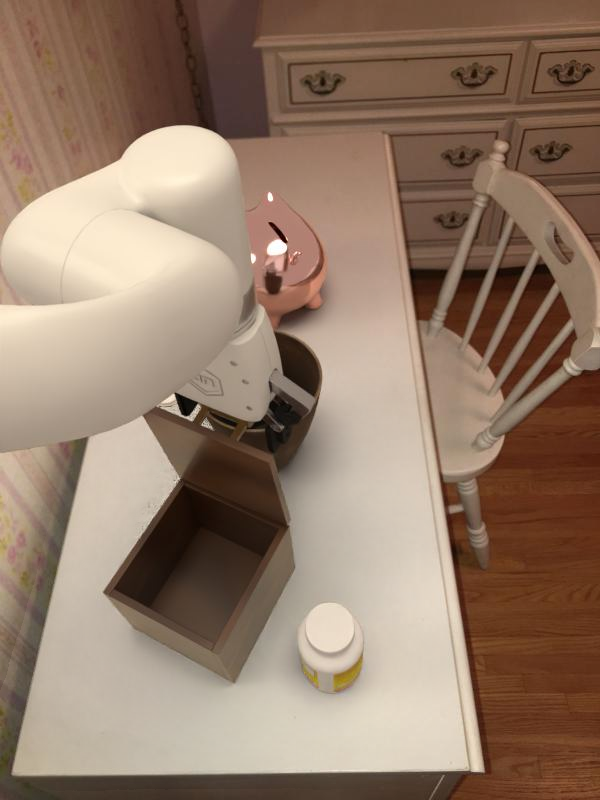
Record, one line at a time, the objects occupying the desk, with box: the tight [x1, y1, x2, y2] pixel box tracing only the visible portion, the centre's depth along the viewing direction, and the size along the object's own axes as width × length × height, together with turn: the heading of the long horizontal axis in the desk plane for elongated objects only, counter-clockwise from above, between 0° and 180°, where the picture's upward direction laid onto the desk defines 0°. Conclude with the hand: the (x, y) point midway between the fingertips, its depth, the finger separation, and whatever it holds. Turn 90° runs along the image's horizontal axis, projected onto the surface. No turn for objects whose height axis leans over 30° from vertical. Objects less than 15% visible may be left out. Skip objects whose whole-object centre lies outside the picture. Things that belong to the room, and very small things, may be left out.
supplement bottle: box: [296, 601, 365, 694], centre depth 66 cm, size 7×7×13 cm
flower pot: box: [198, 329, 323, 471], centre depth 81 cm, size 15×15×16 cm
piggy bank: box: [245, 189, 328, 330], centre depth 98 cm, size 15×18×16 cm
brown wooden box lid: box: [141, 404, 292, 526], centre depth 64 cm, size 15×14×5 cm
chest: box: [102, 478, 296, 684], centre depth 71 cm, size 15×14×12 cm
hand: (235, 422), depth 62 cm, fingers open, 9 cm apart
